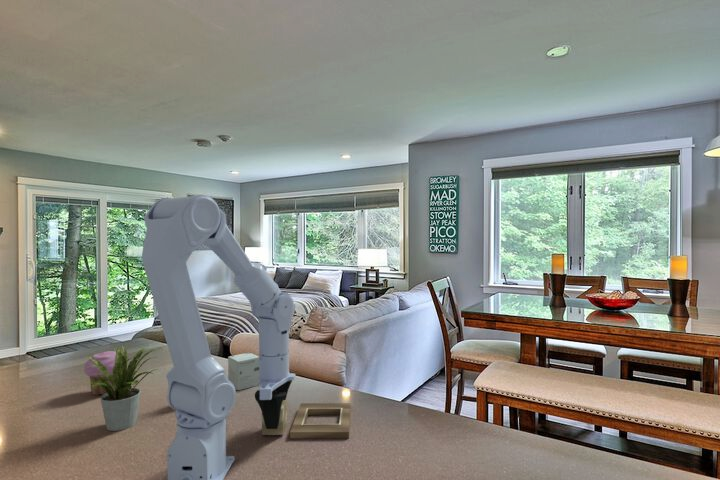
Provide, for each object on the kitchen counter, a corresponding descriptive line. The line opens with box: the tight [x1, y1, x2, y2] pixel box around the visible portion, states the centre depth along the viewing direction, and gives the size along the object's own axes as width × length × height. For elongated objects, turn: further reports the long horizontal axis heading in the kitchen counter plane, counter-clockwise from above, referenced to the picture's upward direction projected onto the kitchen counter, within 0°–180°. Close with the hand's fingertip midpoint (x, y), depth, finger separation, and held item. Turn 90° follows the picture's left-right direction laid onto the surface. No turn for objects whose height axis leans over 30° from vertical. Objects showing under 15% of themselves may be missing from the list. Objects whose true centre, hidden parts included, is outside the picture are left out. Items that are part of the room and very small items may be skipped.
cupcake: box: [83, 350, 116, 396], centre depth 99 cm, size 9×9×10 cm
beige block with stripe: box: [261, 399, 288, 436], centre depth 78 cm, size 4×4×5 cm
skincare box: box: [227, 352, 260, 391], centre depth 103 cm, size 6×6×7 cm
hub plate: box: [289, 402, 352, 439], centre depth 81 cm, size 13×11×1 cm
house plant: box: [84, 342, 163, 432], centre depth 81 cm, size 14×14×16 cm
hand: (274, 422), depth 78 cm, fingers closed on beige block with stripe, 4 cm apart
